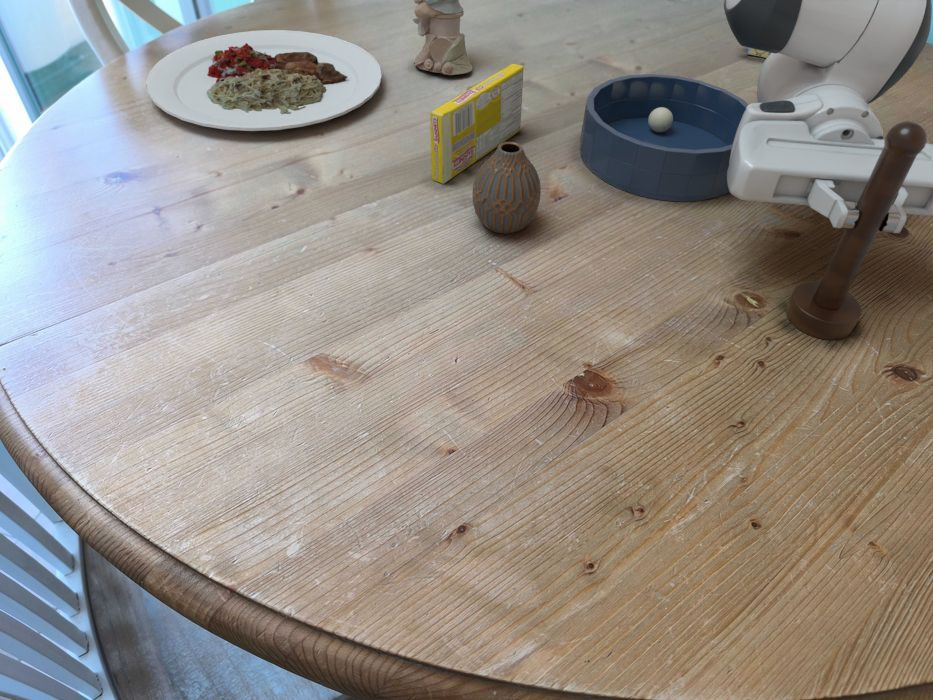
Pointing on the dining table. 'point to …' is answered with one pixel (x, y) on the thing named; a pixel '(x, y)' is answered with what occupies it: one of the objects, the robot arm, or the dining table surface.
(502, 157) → the vase
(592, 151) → the bowl
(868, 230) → the wooden joystick
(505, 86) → the candy box
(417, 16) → the figurine
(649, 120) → the dough ball
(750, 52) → the alphabet block
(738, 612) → the dining table surface
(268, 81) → the plated food
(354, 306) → the dining table surface
